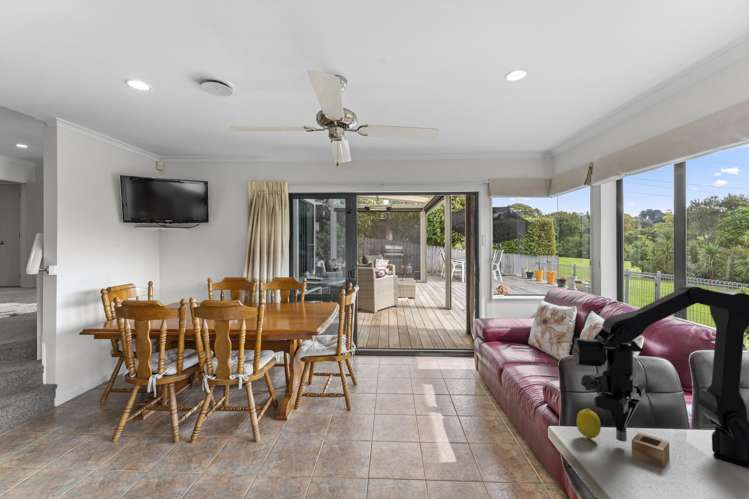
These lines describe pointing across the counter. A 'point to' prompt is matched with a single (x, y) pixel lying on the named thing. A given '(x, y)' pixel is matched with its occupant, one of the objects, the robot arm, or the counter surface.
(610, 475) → the counter surface
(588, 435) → the lemon
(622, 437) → the peg
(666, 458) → the block with square hole
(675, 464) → the counter surface
